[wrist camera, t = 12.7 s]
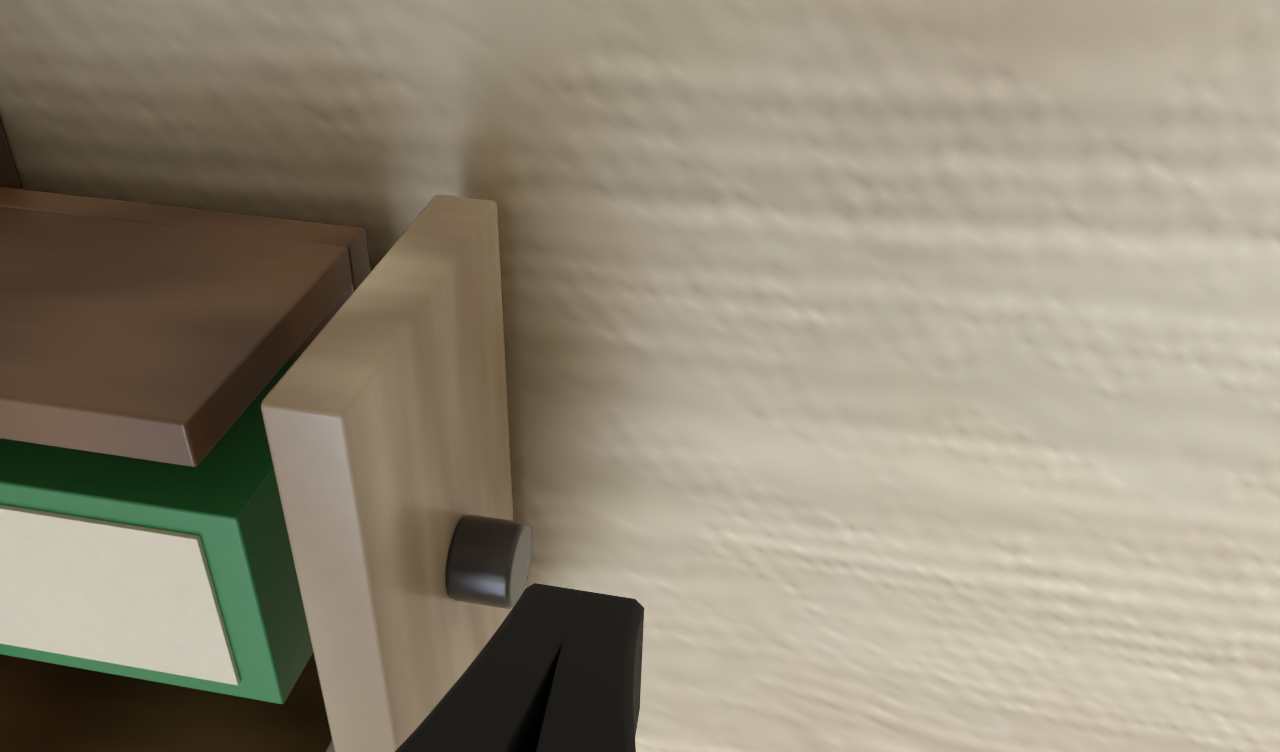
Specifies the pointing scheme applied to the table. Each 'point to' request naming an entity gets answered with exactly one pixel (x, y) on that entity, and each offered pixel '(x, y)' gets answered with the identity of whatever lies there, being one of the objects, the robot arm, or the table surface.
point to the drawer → (278, 445)
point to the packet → (154, 564)
